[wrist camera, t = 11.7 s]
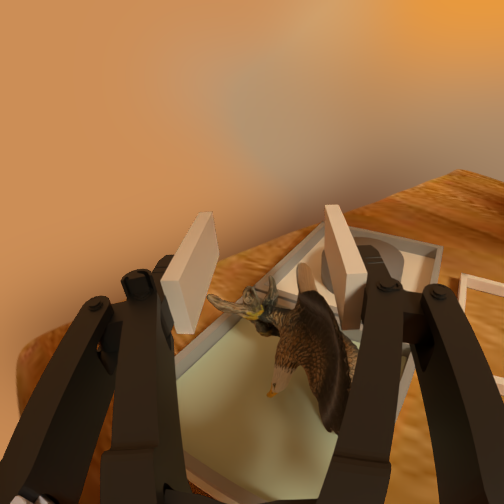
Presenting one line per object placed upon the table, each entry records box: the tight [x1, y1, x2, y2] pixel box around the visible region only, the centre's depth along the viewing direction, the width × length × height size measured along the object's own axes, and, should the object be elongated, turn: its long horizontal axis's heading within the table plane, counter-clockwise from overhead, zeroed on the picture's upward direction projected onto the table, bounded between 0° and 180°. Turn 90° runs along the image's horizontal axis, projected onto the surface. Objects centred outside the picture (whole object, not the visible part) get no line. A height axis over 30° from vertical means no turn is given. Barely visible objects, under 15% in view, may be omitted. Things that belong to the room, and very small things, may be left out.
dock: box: [175, 221, 443, 504], centre depth 21 cm, size 27×13×3 cm, turn 145°
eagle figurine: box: [207, 263, 359, 435], centre depth 15 cm, size 8×7×9 cm
